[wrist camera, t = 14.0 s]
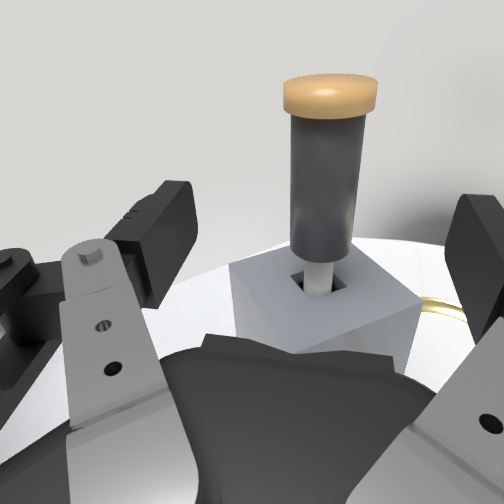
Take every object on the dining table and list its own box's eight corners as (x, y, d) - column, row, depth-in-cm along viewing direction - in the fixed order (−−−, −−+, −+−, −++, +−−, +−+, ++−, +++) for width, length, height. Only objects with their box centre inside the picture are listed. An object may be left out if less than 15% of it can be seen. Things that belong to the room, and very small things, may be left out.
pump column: (219, 393, 41) (196, 257, 30) (330, 348, 45) (342, 215, 35) (278, 532, 30) (274, 395, 20) (416, 456, 34) (472, 310, 24)
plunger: (276, 386, 36) (268, 81, 21) (319, 368, 38) (341, 70, 22) (301, 430, 32) (314, 97, 17) (348, 408, 34) (398, 83, 18)
